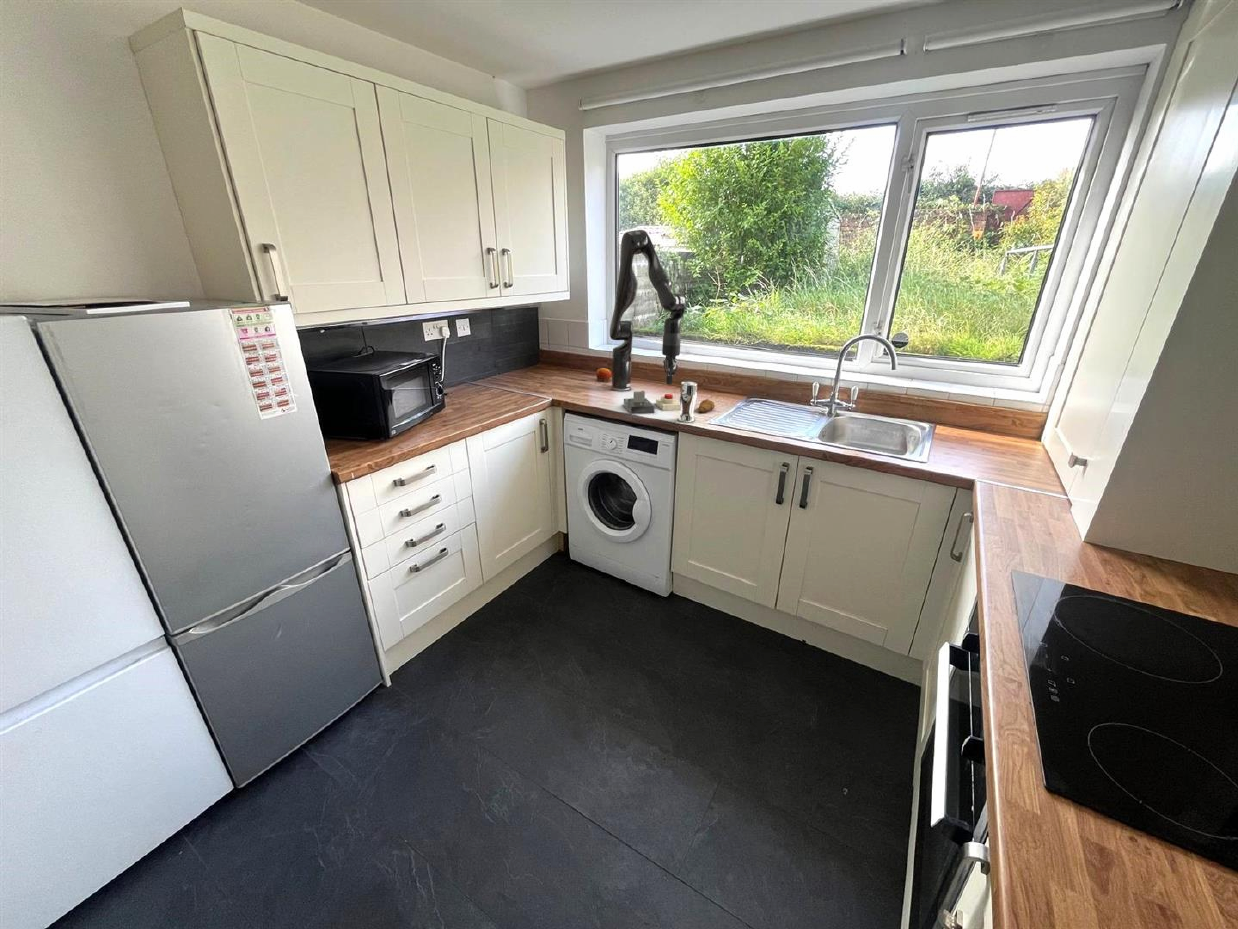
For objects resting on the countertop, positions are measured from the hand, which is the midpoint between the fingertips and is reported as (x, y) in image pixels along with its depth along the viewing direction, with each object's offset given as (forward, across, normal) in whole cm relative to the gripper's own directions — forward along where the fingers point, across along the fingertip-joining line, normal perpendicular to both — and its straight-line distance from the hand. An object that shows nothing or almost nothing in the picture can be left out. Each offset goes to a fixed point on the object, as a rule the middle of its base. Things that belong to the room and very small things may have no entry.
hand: (669, 384), depth 216 cm
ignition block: (+10, 0, 0) cm, 10 cm away
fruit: (+10, -56, -18) cm, 60 cm away
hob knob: (+7, +2, -14) cm, 16 cm away
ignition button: (+7, 0, 0) cm, 7 cm away
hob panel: (+10, +2, -14) cm, 17 cm away
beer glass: (+10, +21, +1) cm, 23 cm away
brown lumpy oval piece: (+10, +8, +15) cm, 20 cm away
